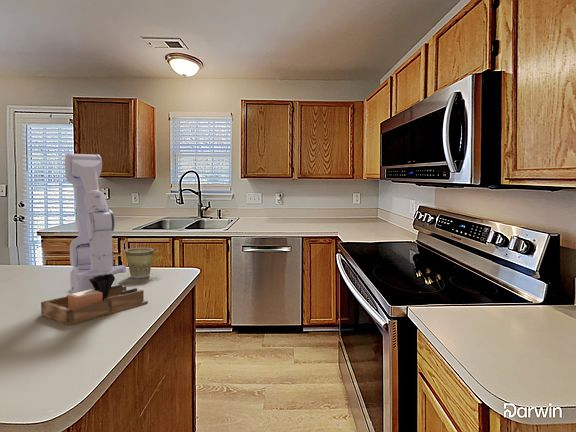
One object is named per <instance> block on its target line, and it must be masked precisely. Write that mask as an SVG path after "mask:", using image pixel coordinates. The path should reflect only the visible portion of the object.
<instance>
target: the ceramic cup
mask: <svg viewBox="0 0 576 432" xmlns="http://www.w3.org/2000/svg"><path fill="white" fill-rule="evenodd" d="M156 253H159V254H160V255H159V256H158V257H157V258H155V260H154V261H153V257H154V255H155V254H156ZM161 256H162V251H160V249H159V250H158V249H156V250H154V248H152V247H134V248H133V247H132V248H128V249H125V257H126V260H127V261H126V262H127V266H128V271H129V275H130V278H132V279H145V278H148V277H150V275H151V269H152V266H153V265H154V264H155V262H157V261H158V259H160V258H161ZM152 261H153V262H152Z"/></svg>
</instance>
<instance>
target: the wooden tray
mask: <svg viewBox="0 0 576 432" xmlns="http://www.w3.org/2000/svg"><path fill="white" fill-rule="evenodd" d="M144 295H145V294H144V290H143V289H138V288H137V287H134V288H130V289H127V285H124V284H122V283H120V284H118V285H111V288H110V290H109V294H108V297H107V298H104V300H103V301H102V302H98V303H94V304H90V305H86V306H82V307H78V308H74V309H68V295H67V296H61V297H59V298H58V297H57V298H53V299H48V300H44V301H40V311H41V316H42V317H45V318H48V319H51V320H53V321H57V322H59V323H62V324H64V323H65V324H64V325H67V326H71V325H75V324H76V325H77V324H79V323H82V322H83V323H84V322H86V321H89V320H93V319H96V318H100V317H103V316H108V315H112V314H115V313H118V312H121V311H125V310H129V309H132V308H136V307H140V306H143V305H147V304H149V301H148V300H145V299H144Z"/></svg>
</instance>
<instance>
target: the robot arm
mask: <svg viewBox="0 0 576 432" xmlns="http://www.w3.org/2000/svg"><path fill="white" fill-rule="evenodd" d="M102 169H103V159H102V157H101V156H100V154H97V153H96V154H86V153H85V154H84V153H70V152H67V154H65V156H64V170H65V172H64V173H65V179H66V181H67V183H69V184H72V187H73V191H74V197H75V209H76V210H75V211H76V219H77V229H78V236H77V237H76V238H74V239H73V240H72V241H71V242H70V244H69V262H70V266H72V269H71V271H70V274H69V275H70V277H69V279H70V281H69V282H70V291H69V292H68V293H67V295H69V294H73V293H77V292H82V291H86V290H91V289H92V290H96V291H100V292H102V296H103V300H104V298H107V297H108V294H109V290H110V288H111V286H113V284H114V282H115V280H116V279H115V278H116V276H115V275H117V274H125V273H127V266H126V265H123V264H122V265H115V266H113V260H112V251H113V232H114V230H115V225H116V223H115V215H114V212H113V211H112V209H111V208H109V205H108V203H107V199H106V195H105V194H104V192H103V191H101V190H100V185H99V179H100V176H101V173H102V171H103V170H102ZM113 274H114V276H112V275H113Z"/></svg>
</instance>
